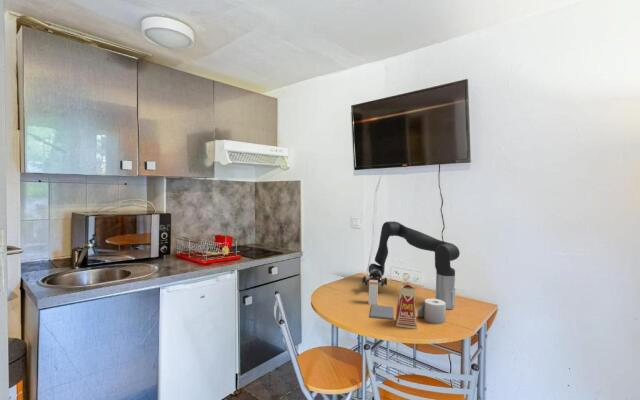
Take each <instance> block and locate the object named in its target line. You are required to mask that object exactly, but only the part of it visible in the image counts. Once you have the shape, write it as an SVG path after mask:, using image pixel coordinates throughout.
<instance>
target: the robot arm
mask: <svg viewBox="0 0 640 400" xmlns="http://www.w3.org/2000/svg"><path fill="white" fill-rule="evenodd" d="M394 236H395V237H400V238H402V239H404V240H405V241H406V242H407V243H408V244H409V245H411V247H414V248H417V249H418V250H423V251H429V252H434V267H435V270H436V271H435V272H436V276H435V298H434V299H439V300H442V301H444V302H445V303H446V310H454V309H455V306H456V287H455V286H456V285H455V282H456V270H455V268H453V267H451V262H452V261H455V260H457V259H458V258H459V256H460V253H461V252H460V249H459V248H458V246H456V245H455V244H454V243H451V242H447V241H444V240H440V239H437V238H436V237H433V236H430V235H428V234H425V233H423V232H421V231H419V230H415V229H413V228H411V227H407V226H406V225H404V224H402V223H400V222H398V221H395V220H394V221H385V222H383V224H382V227H381V231H380V236H379V244H378V247H377V248H378V249H377V251H376V254H375V257H374V261H375V263H370V265H368V273H369V275H368V277H367V276H365V275H364V276H363V277H362V280H361V281H362V282H361V283H363V284H364V285H366V286H368V285H369V280H378V285H380V287H383V286H384V285H386V286H387V285H388V279H387V277H384V278H383V276H384V274H385V265H386V261H387V258H388V254H389V247H388V241H389V239H390V237H394ZM376 263H377V264H376Z"/></svg>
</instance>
